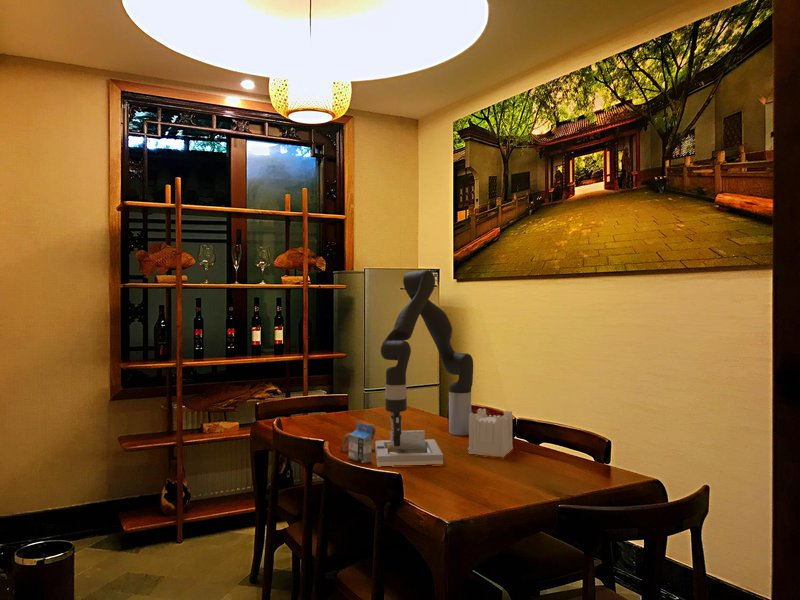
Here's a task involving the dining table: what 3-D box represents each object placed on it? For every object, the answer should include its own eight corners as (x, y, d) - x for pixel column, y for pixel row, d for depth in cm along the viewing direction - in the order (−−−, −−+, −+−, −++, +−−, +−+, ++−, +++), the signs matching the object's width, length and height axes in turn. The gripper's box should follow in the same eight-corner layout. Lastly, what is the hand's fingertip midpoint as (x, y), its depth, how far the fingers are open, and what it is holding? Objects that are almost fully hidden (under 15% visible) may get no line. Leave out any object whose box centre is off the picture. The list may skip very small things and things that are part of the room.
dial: (424, 447, 219) (424, 426, 219) (429, 457, 205) (429, 435, 205) (386, 447, 218) (386, 427, 218) (388, 458, 204) (388, 436, 204)
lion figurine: (372, 446, 227) (372, 422, 227) (378, 449, 222) (378, 425, 222) (336, 451, 219) (336, 427, 219) (342, 454, 215) (342, 429, 215)
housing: (434, 448, 223) (434, 437, 223) (443, 465, 201) (443, 453, 201) (375, 450, 221) (375, 438, 221) (377, 466, 199) (377, 454, 199)
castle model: (503, 458, 209) (503, 417, 209) (462, 453, 216) (462, 414, 216) (512, 449, 221) (512, 411, 221) (473, 445, 227) (473, 408, 227)
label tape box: (347, 458, 210) (347, 423, 210) (357, 456, 213) (357, 421, 213) (362, 463, 203) (362, 427, 203) (372, 461, 206) (372, 425, 206)
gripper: (408, 400, 204) (408, 447, 204) (404, 393, 218) (405, 438, 218) (386, 400, 203) (386, 448, 203) (384, 393, 218) (384, 438, 218)
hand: (396, 443), depth 211 cm, fingers open, 8 cm apart
